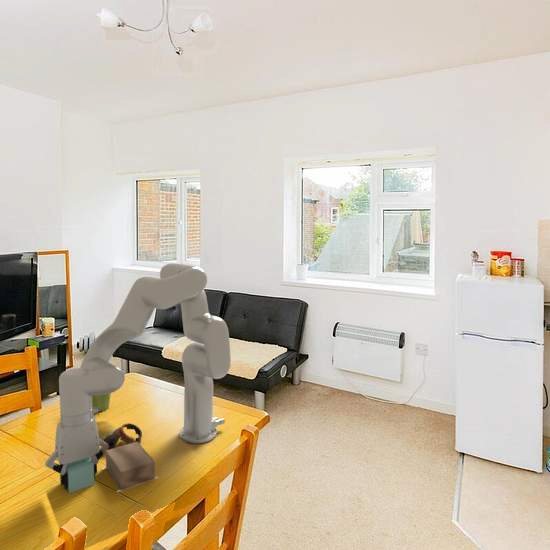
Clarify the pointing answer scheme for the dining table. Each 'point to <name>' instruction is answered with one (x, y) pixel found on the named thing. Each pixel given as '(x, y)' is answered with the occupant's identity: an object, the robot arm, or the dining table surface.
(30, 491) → the dining table surface
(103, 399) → the plant pot
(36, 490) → the dining table surface
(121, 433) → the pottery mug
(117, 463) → the plinth
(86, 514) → the dining table surface
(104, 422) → the bread roll
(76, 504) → the dining table surface
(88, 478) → the teal cube
